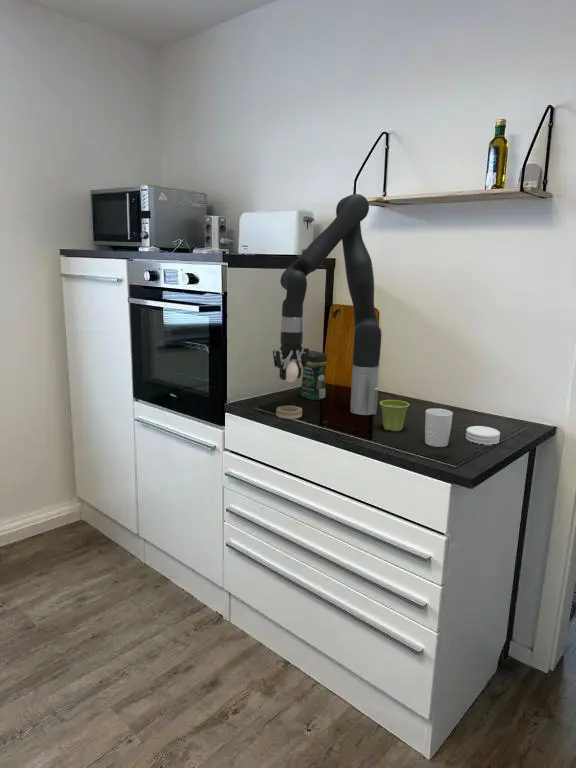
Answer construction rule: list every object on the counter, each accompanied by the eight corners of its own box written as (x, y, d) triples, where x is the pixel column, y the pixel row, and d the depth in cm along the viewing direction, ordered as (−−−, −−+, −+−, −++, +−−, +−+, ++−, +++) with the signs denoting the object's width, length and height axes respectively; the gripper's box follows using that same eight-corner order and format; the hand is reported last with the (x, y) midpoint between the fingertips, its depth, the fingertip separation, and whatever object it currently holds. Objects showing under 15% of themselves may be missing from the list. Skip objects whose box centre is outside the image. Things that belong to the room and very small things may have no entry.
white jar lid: (476, 434, 183) (477, 423, 182) (505, 442, 176) (506, 431, 175) (459, 439, 176) (460, 429, 176) (488, 448, 169) (489, 437, 168)
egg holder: (302, 412, 202) (302, 406, 201) (300, 419, 193) (301, 413, 192) (277, 411, 202) (278, 405, 202) (275, 417, 194) (275, 411, 193)
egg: (301, 382, 195) (302, 360, 194) (290, 384, 191) (291, 361, 190) (289, 379, 199) (290, 357, 197) (278, 382, 195) (279, 359, 193)
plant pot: (385, 434, 179) (387, 407, 177) (373, 425, 188) (375, 400, 186) (412, 432, 182) (414, 406, 180) (399, 424, 191) (401, 399, 189)
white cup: (418, 443, 171) (420, 411, 169) (432, 437, 177) (434, 407, 175) (441, 449, 166) (444, 416, 164) (454, 444, 171) (457, 412, 169)
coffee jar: (297, 396, 224) (298, 350, 220) (311, 393, 229) (313, 348, 225) (314, 401, 217) (315, 354, 213) (328, 398, 222) (330, 352, 218)
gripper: (302, 327, 198) (300, 374, 202) (268, 329, 190) (266, 378, 194) (315, 330, 192) (313, 378, 196) (280, 332, 184) (279, 383, 188)
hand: (290, 378), depth 195 cm, fingers closed on egg, 5 cm apart
